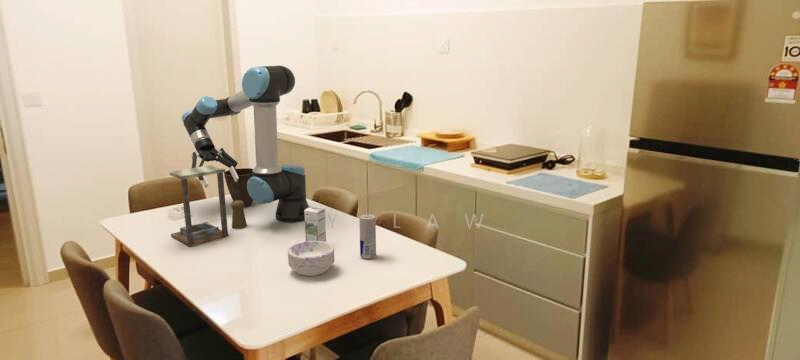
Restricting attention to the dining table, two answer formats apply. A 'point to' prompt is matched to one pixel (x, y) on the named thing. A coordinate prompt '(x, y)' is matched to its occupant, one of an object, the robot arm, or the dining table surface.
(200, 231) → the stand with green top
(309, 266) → the paper bowls
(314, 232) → the syrup box
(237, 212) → the cork
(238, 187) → the plant pot
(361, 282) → the dining table surface
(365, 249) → the beverage can
